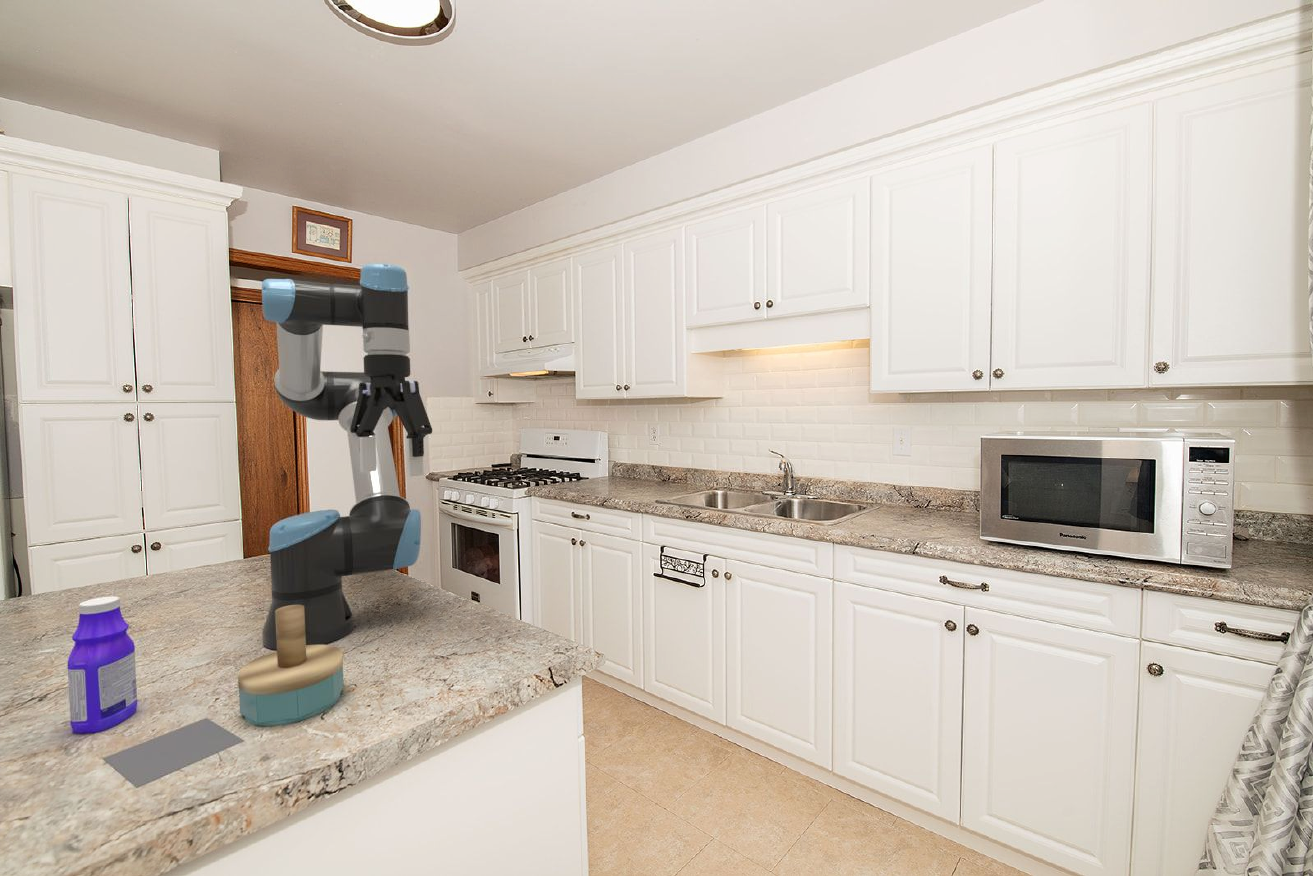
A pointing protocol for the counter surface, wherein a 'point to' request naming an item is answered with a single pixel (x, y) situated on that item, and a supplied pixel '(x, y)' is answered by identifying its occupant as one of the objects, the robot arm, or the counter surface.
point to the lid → (290, 659)
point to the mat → (171, 751)
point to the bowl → (291, 702)
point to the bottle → (101, 668)
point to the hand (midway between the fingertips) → (391, 473)
